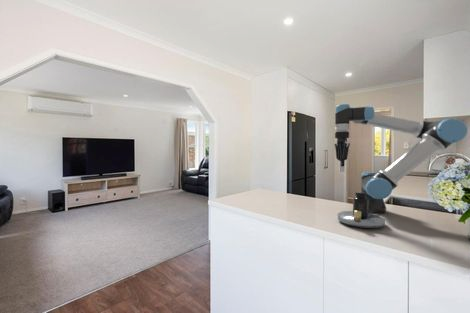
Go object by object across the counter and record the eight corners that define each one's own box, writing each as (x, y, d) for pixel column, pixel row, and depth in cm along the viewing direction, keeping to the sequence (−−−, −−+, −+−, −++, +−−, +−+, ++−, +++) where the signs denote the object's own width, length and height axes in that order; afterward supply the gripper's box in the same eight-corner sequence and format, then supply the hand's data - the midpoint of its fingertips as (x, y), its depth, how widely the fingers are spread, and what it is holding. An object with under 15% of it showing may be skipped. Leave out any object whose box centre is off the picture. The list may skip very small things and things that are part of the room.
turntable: (342, 212, 129) (342, 200, 128) (386, 219, 116) (386, 206, 116) (333, 222, 112) (333, 208, 112) (383, 231, 99) (383, 216, 99)
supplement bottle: (370, 217, 113) (371, 193, 113) (363, 218, 109) (364, 193, 110) (357, 214, 119) (357, 191, 119) (349, 215, 115) (350, 191, 115)
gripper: (330, 132, 137) (329, 170, 138) (341, 130, 124) (341, 173, 125) (342, 132, 137) (341, 170, 138) (354, 130, 124) (354, 172, 125)
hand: (341, 171), depth 132 cm, fingers closed
